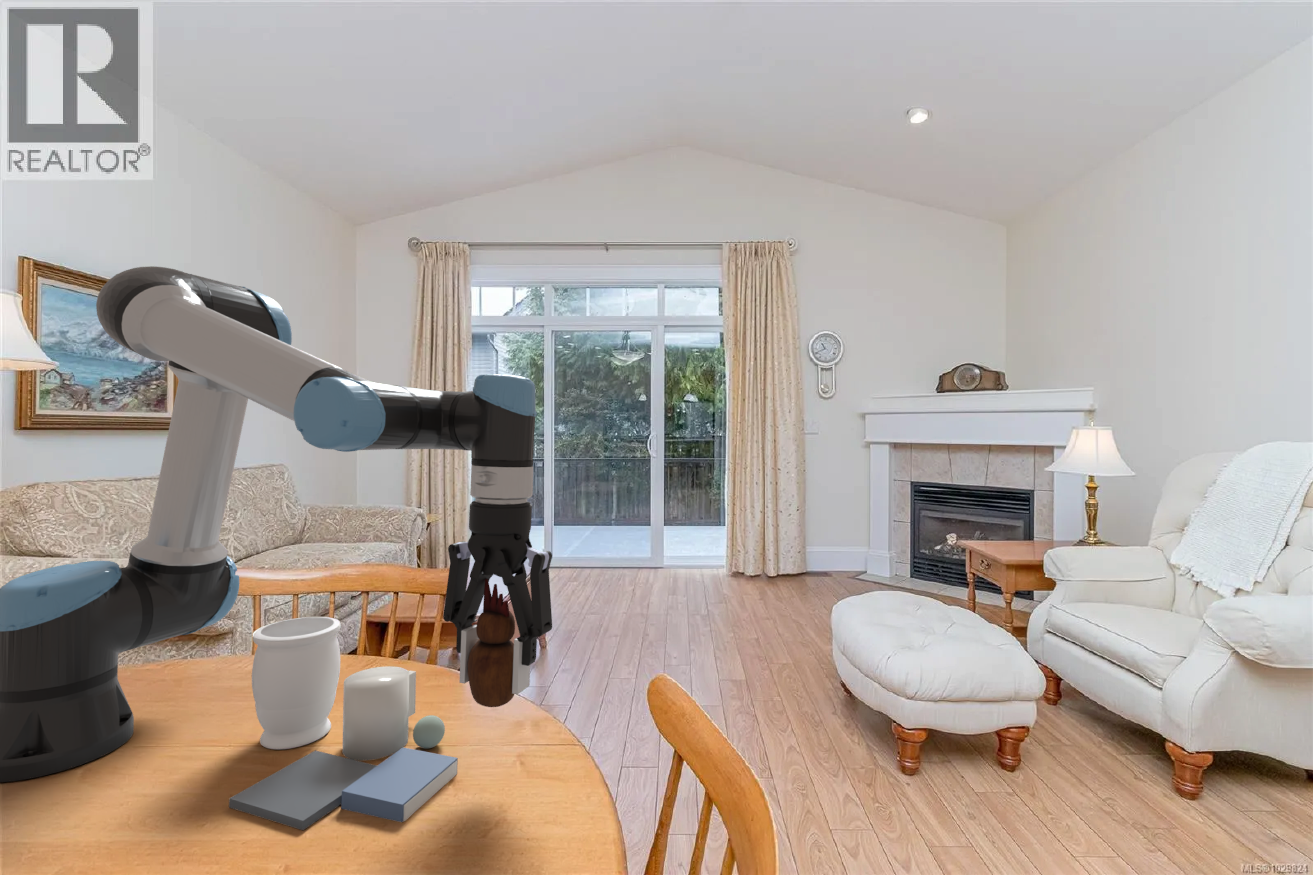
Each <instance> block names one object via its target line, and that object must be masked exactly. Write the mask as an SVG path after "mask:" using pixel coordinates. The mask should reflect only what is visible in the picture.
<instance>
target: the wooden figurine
mask: <svg viewBox="0 0 1313 875" xmlns="http://www.w3.org/2000/svg"><path fill="white" fill-rule="evenodd" d="M489 582H490V581H489ZM489 582H488V579H487V578H486V579H485V588H484V596H483V601H482V602H483V605H482V606H483V607H482V608H483V609H482V612H481V613H480V615H479V616H478V618H477V619H478V620H477V621H476V625H477V628H476V634H477V636H478V638H479V640H478V641H477V642H476V643H475V645H474V646H473V647H472V648H471V651H470V654H469V658H468V679H469V681H468V683H469V687H470V688H469V689H470V693H471V695H472V698H473V700H474V701H475V702H476V703H477V704H478V705H479V706H483V707H487V708H498V707H502V706H504V705H506V704H508V703H510V701H512V699H513V698H514V697H515V694H512V683H513V656H514V641H512V639H513V637H514V635H515V633H516V632H515V631H516V619H515V615H514V614H513V613H512V611H510V608H509V607H510V606H509V602H508V600H504V595H503V593H500V594H498V585H497V583H494V584H493V589H492V591H491V588H490V583H489Z"/></svg>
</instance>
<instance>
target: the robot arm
mask: <svg viewBox="0 0 1313 875" xmlns="http://www.w3.org/2000/svg"><path fill="white" fill-rule="evenodd" d="M95 304H96V305H95V306H96V308H95V309H96V315H97V319H98V322H100V325H101V326H102V328H103V329H104V331H105V332H106V333H107V334H108V336H109V337H110V338H111V339H112V340H114V341H115V342H116V343H118V344H119V345H121V346H122V347H124V348H127V350H130V351H131V352H134V353H136V354H138V355H140V356H142V357H144V358H145V359H149V360H153V361H157V362H159V361H160V362H168V363H167V367H168V368H169V370H170V371H171V372H172V373H173V374H174V375H175V376H176V378H177V380H178V383H177V387H176V392H175V398H174V403H173V408H172V412H171V418H170V422H169V427H168V433H167V438H166V441H165V442H166V443H165V447H164V453H163V456H162V463H161V467H160V470H159V471H160V472H159V477H158V482H157V487H156V492H155V495H154V496H155V497H154V502H153V507H152V511H151V517H150V521H149V526H148V531H147V536H146V537H144V538H143V539H141V540H140V541H138V542H136V543H135V544H133V545H132V546H131V548H130V552H129V557H128V562H127V565H126V566H125V567H124V566H123V567H120V565H119V564H118V563H117V562H115V561H111V560H88V561H81V562H78V563H74V564H71V563H69V564H63V565H62V564H61V565H56V566H52V567H48V568H43V569H40V570H36V571H33V572H29V573H27V574H24V575H21V576H18V577H16V578H13V579H11V580H9V581H8V582H6V584H4V585H3V586H1V587H0V783H7V782H8V783H9V782H15V781H23V780H29V779H34V778H38V777H39V778H40V777H43V776H48V775H52V774H55V773H59V772H60V773H61V772H63V771H66V770H70V769H72V768H75V767H76V768H77V767H78V766H81V765H84V764H86V763H89V762H92V761H95V760H96V759H99V758H102V757H103V756H106V755H108V754H109V753H111V752H113V751H115V750H117V749H118V748H119V747H121V746H123V745H124V744H125V743H127V742H128V741H129V740H130V739H131V737H133V734H134V730H135V729H134V723H135V722H134V721H135V720H134V712H133V711H132V708H131V707H130V706H131V705H130V704H129V702H128V700H127V698H126V696H125V693H124V690H123V688H122V686H121V683H120V681H119V679H118V678H119V676H118V673H119V672H118V670H119V668H118V667H119V666H118V665H119V654H121V653H124V652H127V651H130V650H134V649H138V648H141V647H144V646H148V645H151V644H155V643H158V642H162V641H165V640H168V639H171V638H175V637H178V636H187V635H189V634H193V633H196V632H197V631H200V630H202V629H204V628H208V627H211V626H212V625H214V624H217V623H218V622H219V621H221V620H222V619H223V618H224V617H226V615H228V614H229V612H230V611H231V609H232V608H234V607H233V606H234V604H235V603H236V601H237V599H238V595H239V590H240V575H238V574H236V573H237V571H238V568H237V565H236V563H235V562H234V560H233V559H232V558H231V557H230V556H229V555H228V554H229V550H228V549H227V547H226V546H225V545H224V544H223V543H222V542H221V541H220V540H219V538H220V535H221V530H222V526H223V521H224V520H223V519H224V515H225V510H226V506H227V501H228V497H229V491H230V488H231V482H232V477H233V475H234V474H233V473H234V469H235V463H236V460H237V459H236V458H237V453H238V449H239V445H240V439H241V434H242V431H243V430H242V429H243V424H244V421H245V416H246V413H247V412H246V410H247V406H248V401H249V400H250V401H252V402H255V403H256V404H258V405H260V406H262V407H265V408H266V409H267V410H268V409H269V410H271V411H272V412H275V413H276V414H279V415H280V416H283V417H285V418H287V419H288V420H291V421H292V422H294V424H295V427H296V430H297V431H298V432H300V434H301V435H302V437H303V440H304V441H305V442H306V443H308V444H309V445H311V446H313V447H314V448H318V449H323V450H335V451H337V452H344V453H349V452H356V451H374V450H375V451H377V450H378V451H379V450H380V451H381V450H456V451H457V450H458V451H461V450H462V451H468V452H469V451H470V452H471V462H470V463H471V466H470V467H471V469H470V470H471V471H470V473H471V474H470V492H469V493H470V496H471V497H472V498H474V499H475V500H472V501H471V503H470V504H469V512H468V513H469V515H468V517H469V518H468V529H469V531H470V536H469V539H468V541H458V542H455V543H454V542H453V543H451V544H449V545H448V547H447V549H448V550H447V552H448V558H449V568H448V569H449V570H448V578H447V584H446V591H445V601H444V607H443V615H442V618H443V620H444V622H447V623H448V622H450V623H451V624H454V627H455V628H456V641H455V642H456V645H455V648H456V652H457V654H460V660H459V684H460V683H461V684H466V683H469V679H468V658H469V654H470V651H471V648H472V647H473V646H474V645H475V643H476V642H477V641H478V640H479V638H478V636H477V634H476V628H477V621H478V618H477V615H478V612H479V610H480V606H481V604H482V602H483V600H484V588H485V579H486V578H487V579H488V582H490V580H491V578H492V577H493V576H497V577H499V578H501V579H502V583H503V585H504V586H505V587H506V589H507V592H508V596H509V599H510V602H511V603H510V604H511V607H512V610H513V616H514V619H515V623H516V625H517V629H518V632H519V636H518V637H516V638H514V639H513V643H514V656H513V683H512V694H514V695H517V696H518V695H519V694H521V693H523V691H524V690H527V688H529V687H530V683H531V682H530V678H531V665H532V664H534V663H536V659H537V646H538V645H537V642H538V641H537V640H538V638H539V637H542V636H543V635H545V634H547V633H549V632H550V631H551V630H552V629H553V617H552V602H551V601H552V600H551V598H552V597H551V583H550V571H549V570H550V566H551V563H552V559H553V553H552V551H550V550H545V551H541V550H539V549H536V548H533V544H532V542H531V539H530V534H531V533H530V532H531V530H532V518H533V517H532V516H533V513H532V511H533V504H532V503H531V502H530V501H529V499H530V498H532V497H533V491H534V490H533V489H534V488H533V486H534V448H535V447H534V445H535V427H536V417H537V415H538V414H537V411H536V407H537V406H536V385H535V383H534V382H533V381H532V380H531V378H528V377H525V376H520V375H512V374H496V373H494V374H491V373H490V374H479V375H478V376H476V378H475V379H474V382H473V383H474V384H473V387H472V390H469V391H452V390H435V389H434V390H433V389H426V388H418V387H412V386H402V385H396V384H388V383H381V382H377V381H376V382H375V381H371V380H368V379H366V378H364V377H362V376H359V375H357V374H355V373H353V372H350V371H348V370H346V369H343V368H342V367H340V366H338V365H335V364H333V363H331V362H329V361H326V360H324V359H321V358H320V357H317V356H315V355H313V354H311V353H309V352H306V351H304V350H302V349H300V348H299V347H298V348H297V347H295V346H293V345H292V342H293V337H292V336H293V335H292V326H291V324H290V321H289V320H290V319H289V317H288V316H287V314H286V313H285V312H284V308H282V306H281V305H280V304H279V303H278V302H277V301H276V300H275V299H273V298H272V297H270V296H269V295H267V294H264V293H262V292H259V291H256V290H253V289H250V288H247V287H246V286H239V285H235V284H231V283H228V282H223V281H219V280H215V279H211V278H207V277H203V276H199V275H196V274H192V273H188V272H184V271H183V270H178V269H174V268H169V267H166V266H165V267H163V266H155V265H154V266H139V267H137V266H136V267H132V268H130V269H125V270H123V271H121V272H119V273H117V274H115V275H114V276H112V277H111V278H110V279H108V280H107V281H106V283H104V285H103V286H102V287H101V289H100V291H99V292H98V294H97V299H96V303H95ZM471 556H472V559H473V561H474V562H473V565H472V568H471V571H470V565H471V564H470V562H471ZM527 559H528V563H527V566H528V567H529V568H530V570H529V571H530V572H529V581H530V582H529V583H530V590H529V587H528V583H527V578H528V574H527V571H526V567H525V564H524V563H526V561H527ZM469 571H470V572H469ZM469 573H470V574H469ZM514 574H515V575H514ZM469 578H470V580H469V582H468V579H469ZM473 623H474V624H473ZM475 623H476V624H475Z"/></svg>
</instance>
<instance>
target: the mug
mask: <svg viewBox="0 0 1313 875" xmlns="http://www.w3.org/2000/svg"><path fill="white" fill-rule="evenodd" d="M416 678H417V671H416V670H407V669H406V668H404V667H400V666H389V665H388V666H377V667H371V668H365V669H362V670H360V671H356V672H355V673H352V674H350V675H349V676H347V677H346V678H345V679H344V681H343V697H342V698H343V701H342V703H343V704H342V705H343V706H342V710H343V711H342V755H343V756H344V758H348V759H352V760H356V761H361V762H364V761H375V760H378V759H382V758H386V757H390V756H392V755H393V754H394V753H396V752H397V751H399V750H400V749H401V748H403V747H404V748H405V746H406V745H407V744H408V742H409V718H410V717H411V716H412V715H414V714H416V697H417V696H416V693H417V692H416V688H417V687H416V686H417V685H416V683H417V679H416Z"/></svg>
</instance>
